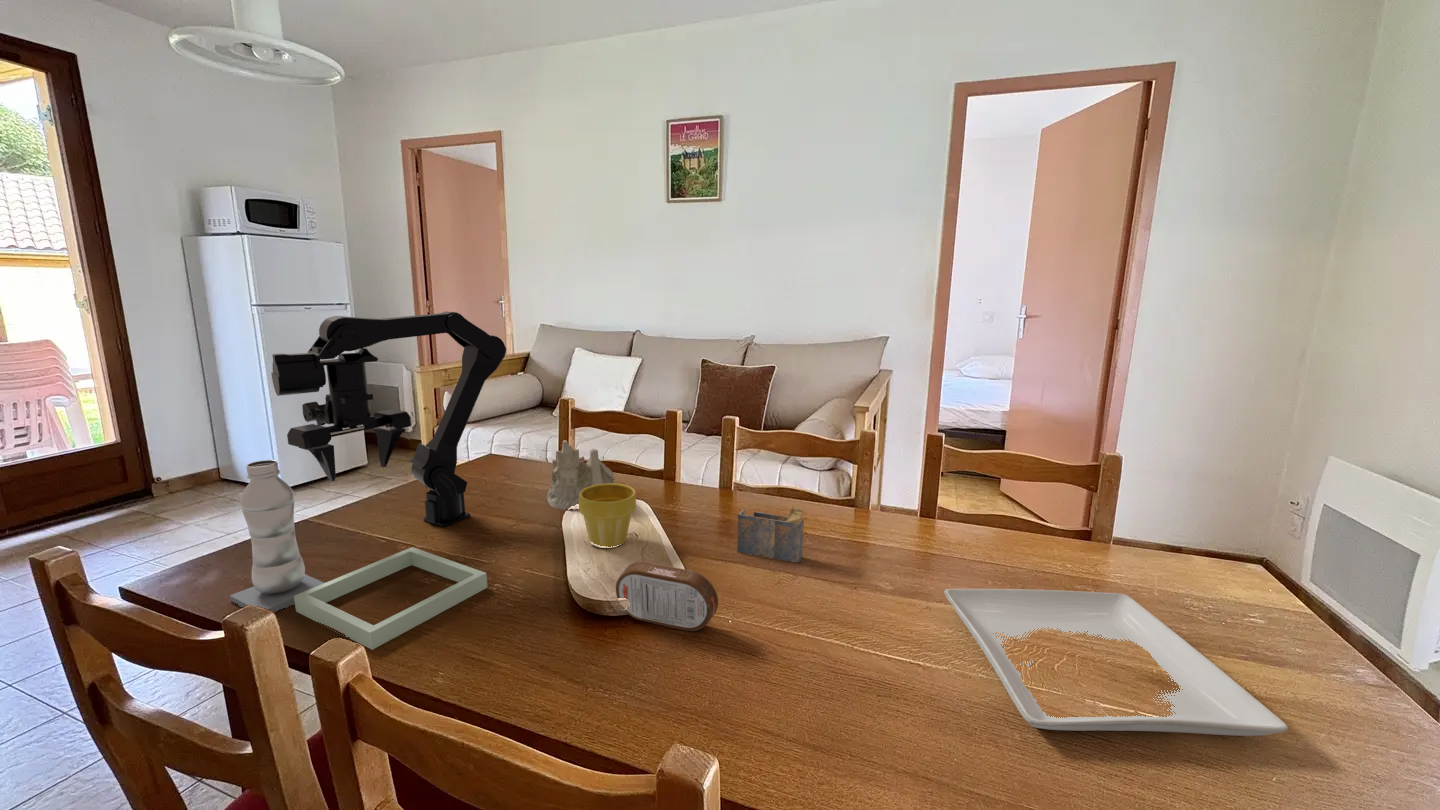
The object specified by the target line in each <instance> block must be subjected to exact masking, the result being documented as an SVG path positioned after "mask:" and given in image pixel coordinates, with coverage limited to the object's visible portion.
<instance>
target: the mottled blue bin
mask: <svg viewBox="0 0 1440 810" xmlns="http://www.w3.org/2000/svg"><path fill="white" fill-rule="evenodd" d="M803 511H804V508H796V507H794V505H791V508H789V516H786V515H780V514H773V513H766V512H760V511H756V510H755V511H753V515H746V514H745V509H742V510H741V511H739V513H738V515H737V516H738V517H737V543H736V544H737V547H736V548H737V550H736V551H737V552H736V553H738V552H740V553H739V554H743V553H747V554H746V555H749V554H752V555H751V556H754V555H757V556H756V557H760V556H763V557H762V558H765V557H769V558H768V559H771V558H773V559H772V560H776V559H780V560H779V561H782V560H786V561H785V562H787V561H794V562H799V561H800V562H801V560H802V559H801V557H802V558H803V549H804V527H805V526H804V525H805V519H804V518H802V516H803V513H804V512H803ZM800 559H801V560H800ZM800 562H799V563H800Z"/></svg>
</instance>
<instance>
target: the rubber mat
mask: <svg viewBox="0 0 1440 810" xmlns="http://www.w3.org/2000/svg"><path fill="white" fill-rule="evenodd" d="M324 583H325V581H321V580H319V579H317V578H314V577H312V576H310V575H308V574H306V573H305V576H304V579H303V580H302V582H301V583H300V584H299V585H298V586H297V587H295V588H293V589H291V590H288V591H285V592H282V593H277V594H262V593H260V592H259V591H258V590H256V589H255V587H254V585H253V586H251V587H249V588H246V589H243V590H241V591H237V592H235V593H232V594H230V595H229V598H230V599H229V600H230V602H231V601H233V602H234V603H233V602H232V603H233V604H235V603H236V604H238V605H237V606H238V607H241V608H242V607H244V606H248V605H253V606H259V607H262V608H266V609H268V610H271V611H273V612H274V611H277V609H278V610H279V609H283V608H285V609H288V608H289V606H290V607H292V606H295V601H294V596H295V595H297V594H300V593H302V592H304V591H307V590H309V589H312V588H314V587H317V586H319V585H321V584H324ZM236 604H235V605H236ZM291 605H292V606H291ZM283 610H284V609H283Z"/></svg>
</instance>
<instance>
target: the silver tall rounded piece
mask: <svg viewBox="0 0 1440 810" xmlns="http://www.w3.org/2000/svg"><path fill="white" fill-rule="evenodd" d="M246 473H247V474H246V478H247V479H249V483H248V484H247V485H246V487H245V488H244V489H243V492H242V493H241V495H240V500H239V506H240V509H241V512H242V514H243V517H244V520H245V522H246V526H247V529H248V534H249V536H250V542H251V553H252V566H251V583H252V585H253V586H254V587H255V589H256V590H258V591H259V592H260V593H262V594H277V593H282V592H285V591H288V590H291V589H293V588H295V587H297V586H298V585H299V584H300V583H301V582H302V580H303V579H304V576H305V574H306V567H305V563H304V559H303V558H302V555H301V554H300V550H299V549H300V548H299V545H298V541H297V538H296V530H295V517H294V515H295V492H294V490H293V489H292V487H291V486H290V485H289V484H288V483H287V482H285V481H284V480H283V479H281V478H280V477H279V475H280V474H281V471H280V469H279V464H278V460H275V459H265V460H264V459H263V460H258V461H253V462H252V461H251V462H250V463H247V464H246Z"/></svg>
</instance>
